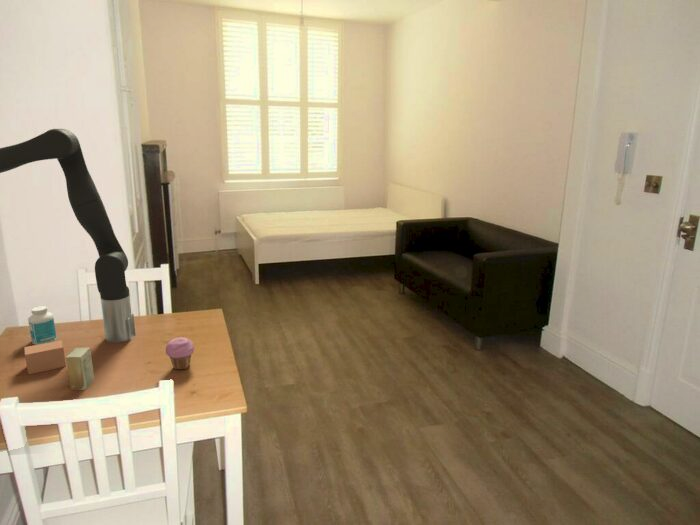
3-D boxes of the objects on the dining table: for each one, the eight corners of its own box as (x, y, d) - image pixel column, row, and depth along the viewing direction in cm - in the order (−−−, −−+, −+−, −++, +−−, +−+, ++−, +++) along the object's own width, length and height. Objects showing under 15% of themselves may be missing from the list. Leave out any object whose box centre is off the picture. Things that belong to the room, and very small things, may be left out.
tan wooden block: (65, 362, 155) (61, 340, 153) (66, 370, 150) (63, 347, 148) (28, 370, 149) (24, 347, 147) (28, 378, 145) (24, 354, 142)
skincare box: (80, 383, 143) (75, 346, 139) (95, 383, 143) (90, 346, 140) (70, 395, 137) (64, 356, 133) (86, 394, 137) (80, 356, 134)
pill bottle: (62, 340, 170) (56, 305, 167) (47, 349, 163) (41, 313, 160) (42, 338, 171) (37, 303, 167) (27, 347, 164) (21, 311, 160)
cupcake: (193, 372, 151) (191, 344, 148) (164, 374, 150) (162, 345, 147) (197, 359, 159) (195, 332, 157) (170, 361, 158) (168, 333, 155)
